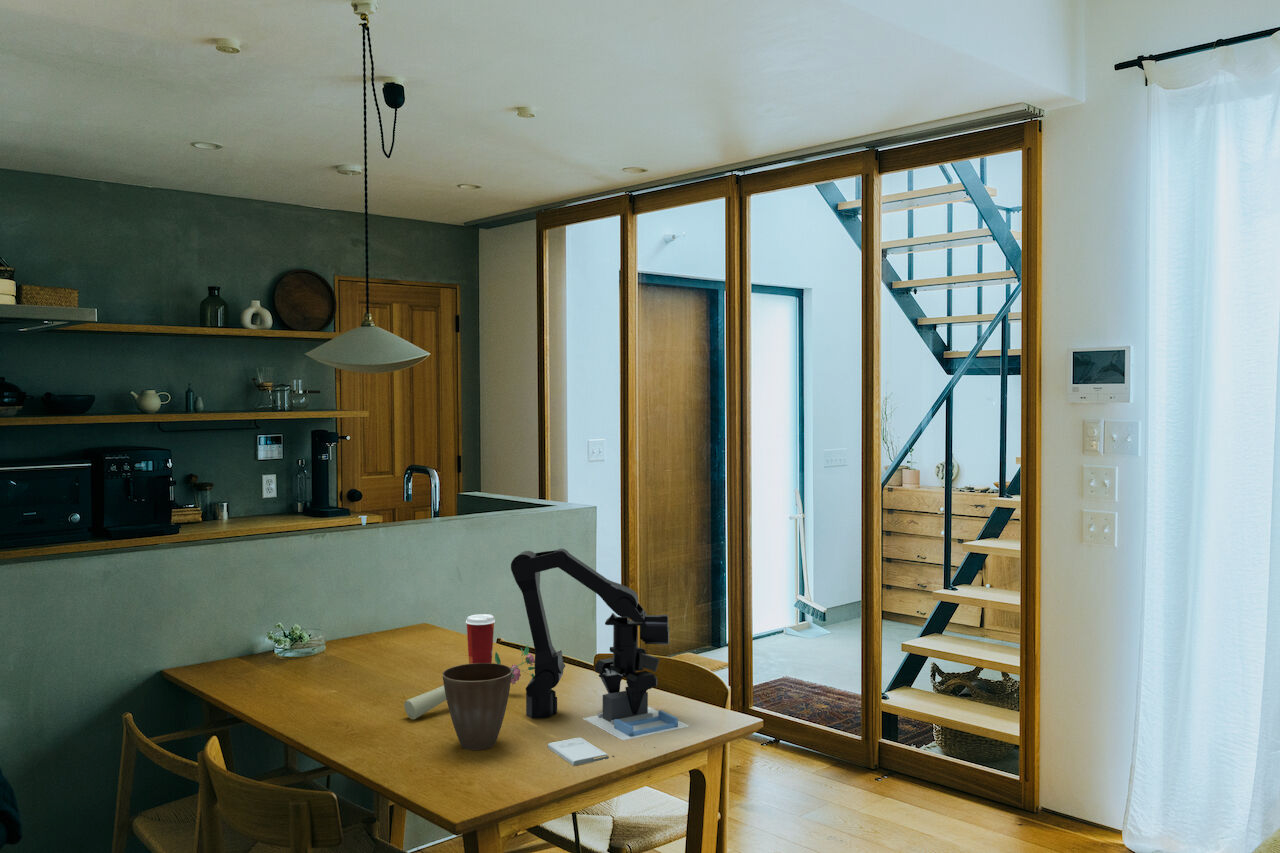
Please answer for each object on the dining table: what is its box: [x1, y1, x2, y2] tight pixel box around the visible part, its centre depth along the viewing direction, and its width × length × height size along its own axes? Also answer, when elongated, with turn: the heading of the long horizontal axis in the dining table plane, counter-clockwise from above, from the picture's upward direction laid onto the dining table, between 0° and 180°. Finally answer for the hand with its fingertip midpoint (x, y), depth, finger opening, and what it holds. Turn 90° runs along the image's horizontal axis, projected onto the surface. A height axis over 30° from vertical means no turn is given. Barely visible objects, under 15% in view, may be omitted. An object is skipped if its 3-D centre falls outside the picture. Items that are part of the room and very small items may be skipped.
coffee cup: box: [465, 613, 496, 664], centre depth 274 cm, size 8×8×15 cm
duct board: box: [582, 706, 690, 741], centre depth 226 cm, size 18×18×3 cm
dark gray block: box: [602, 690, 649, 722], centre depth 230 cm, size 10×4×6 cm, turn 123°
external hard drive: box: [547, 737, 609, 767], centre depth 208 cm, size 2×8×12 cm
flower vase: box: [403, 645, 535, 721], centre depth 242 cm, size 12×12×35 cm
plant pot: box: [442, 662, 512, 751], centre depth 213 cm, size 15×15×16 cm
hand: (625, 709), depth 230 cm, fingers open, 8 cm apart
